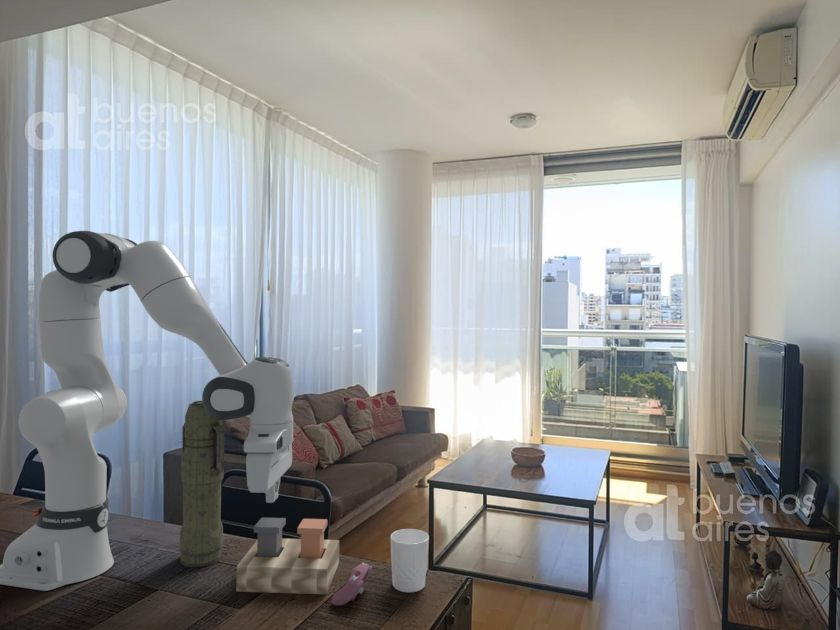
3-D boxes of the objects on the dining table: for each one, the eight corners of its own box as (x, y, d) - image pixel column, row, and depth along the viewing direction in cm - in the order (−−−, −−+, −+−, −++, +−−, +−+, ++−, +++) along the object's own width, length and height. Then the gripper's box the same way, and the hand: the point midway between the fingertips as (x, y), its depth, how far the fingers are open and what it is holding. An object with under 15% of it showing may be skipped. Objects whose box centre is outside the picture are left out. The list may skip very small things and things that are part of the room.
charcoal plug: (253, 559, 115) (253, 526, 115) (261, 548, 120) (261, 517, 120) (278, 560, 115) (278, 527, 115) (285, 549, 120) (285, 518, 120)
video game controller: (348, 617, 105) (365, 585, 104) (328, 603, 106) (344, 572, 105) (363, 591, 115) (379, 562, 114) (345, 579, 115) (360, 550, 115)
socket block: (236, 591, 110) (236, 566, 110) (258, 560, 124) (259, 537, 124) (326, 594, 110) (327, 569, 110) (338, 562, 124) (339, 540, 124)
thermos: (195, 546, 131) (197, 397, 131) (235, 555, 127) (238, 401, 127) (165, 561, 123) (167, 402, 123) (207, 571, 119) (209, 407, 118)
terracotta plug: (296, 560, 115) (297, 528, 114) (302, 549, 120) (303, 518, 120) (322, 561, 114) (322, 528, 114) (326, 550, 120) (327, 519, 120)
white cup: (391, 575, 119) (392, 528, 119) (428, 576, 118) (429, 529, 118) (388, 593, 111) (388, 543, 111) (427, 595, 110) (428, 544, 110)
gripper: (271, 424, 128) (271, 485, 128) (240, 446, 107) (240, 517, 107) (299, 424, 127) (299, 485, 128) (272, 446, 107) (273, 518, 107)
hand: (272, 500), depth 117 cm, fingers closed
